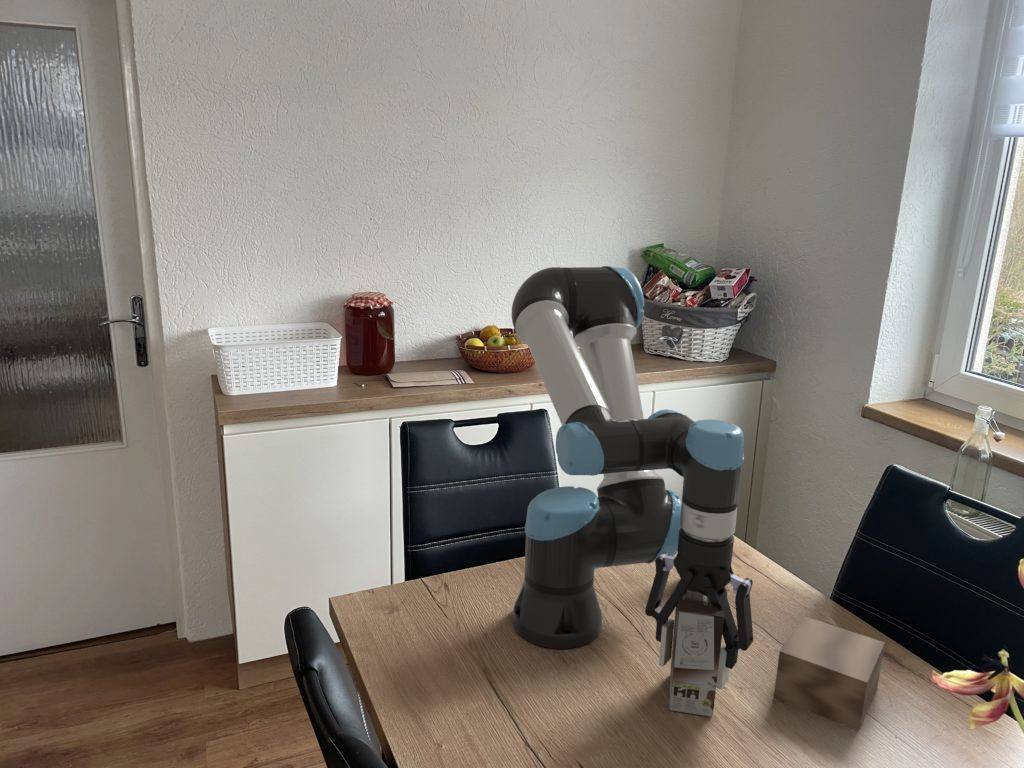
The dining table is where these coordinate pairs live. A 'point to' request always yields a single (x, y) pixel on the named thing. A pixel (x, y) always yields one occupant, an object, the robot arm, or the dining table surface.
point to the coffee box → (695, 654)
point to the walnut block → (829, 671)
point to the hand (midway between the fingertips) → (692, 672)
